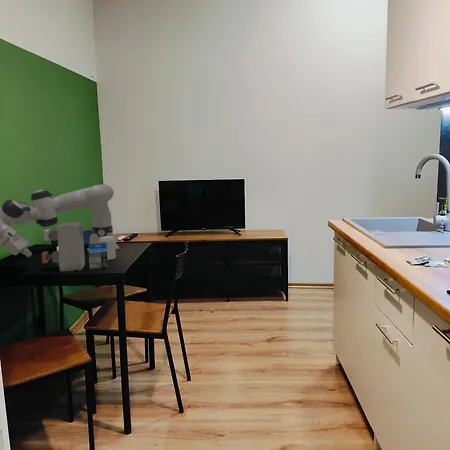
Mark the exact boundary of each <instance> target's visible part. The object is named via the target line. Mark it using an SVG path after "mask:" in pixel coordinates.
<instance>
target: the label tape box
mask: <svg viewBox="0 0 450 450" xmlns="http://www.w3.org/2000/svg"><path fill="white" fill-rule="evenodd" d="M97 245H101V246H100V247H95V246H97ZM88 248H89V250H88V264H89V270H97V269H108V268H109V262H108V261H109V260H108V258H107V245H106V243H94V244H90V243H88Z"/></svg>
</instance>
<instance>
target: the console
mask: <svg viewBox="0 0 450 450" xmlns="http://www.w3.org/2000/svg"><path fill="white" fill-rule="evenodd" d="M50 233H51V239H50V240H51V241H53V242H54V241H57V247H58V248H57V249H58V250H55V251H53V252H52V253H51V255H52V259H51V260H52V263H53V264H56V263H59V272H75V271H74V270H78V271H83V268H84V267H85V265H86V261H85V244H84V227H83V221H77V222H76V221H75V222H74V221H73V222H61V223H60V224H58V225H57V226H56V229H51V230H50Z"/></svg>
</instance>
